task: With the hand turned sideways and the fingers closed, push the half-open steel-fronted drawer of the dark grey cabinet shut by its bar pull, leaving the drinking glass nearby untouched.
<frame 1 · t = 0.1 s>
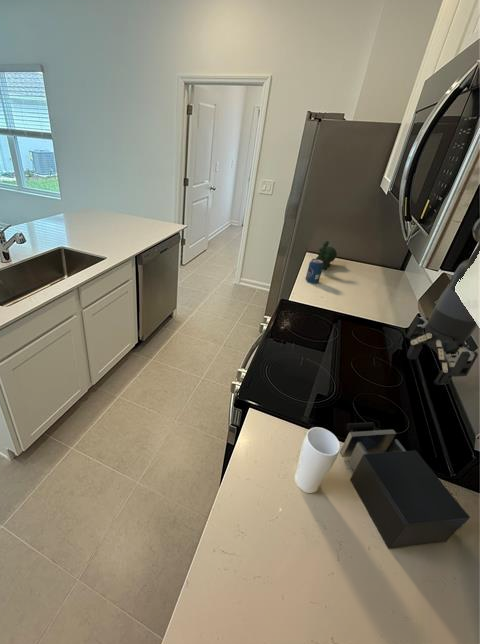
hand: (424, 370, 71), 23 cm above the worktop, tool pointing down, fingers open, 8 cm apart
cabinet: (394, 508, 66), on the worktop
soda can: (311, 281, 166), on the worktop
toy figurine: (322, 267, 185), on the worktop
drawer: (376, 457, 71), point 5 cm above the worktop, slide at 5.0 cm
drinking glass: (305, 482, 70), on the worktop
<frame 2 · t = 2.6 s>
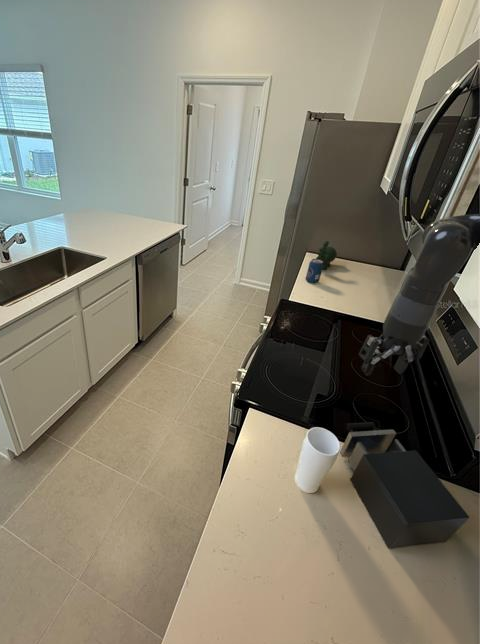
hand: (381, 372, 73), 21 cm above the worktop, tool pointing down, fingers open, 8 cm apart
nothing on the worktop moved.
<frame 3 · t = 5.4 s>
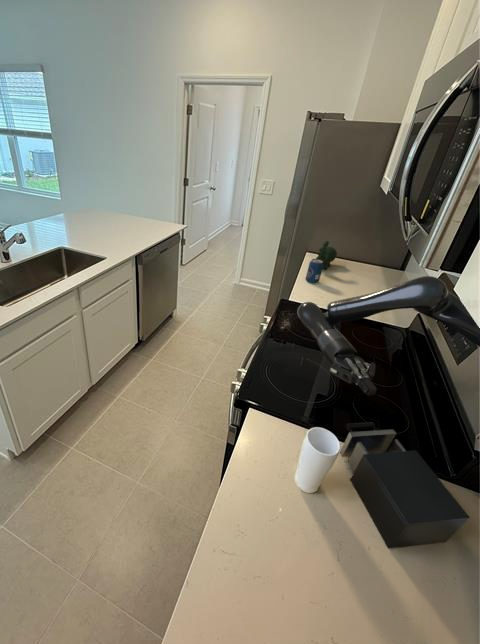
hand: (372, 393, 74), 16 cm above the worktop, tool horizontal, fingers closed
nothing on the worktop moved.
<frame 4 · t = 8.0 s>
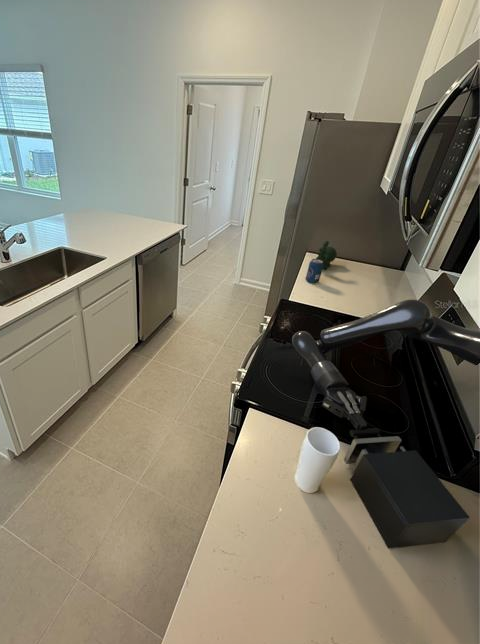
hand: (363, 428, 76), 7 cm above the worktop, tool horizontal, fingers closed
drawer: (381, 464, 70), point 5 cm above the worktop, slide at 3.1 cm, touching gripper
everything else where it was.
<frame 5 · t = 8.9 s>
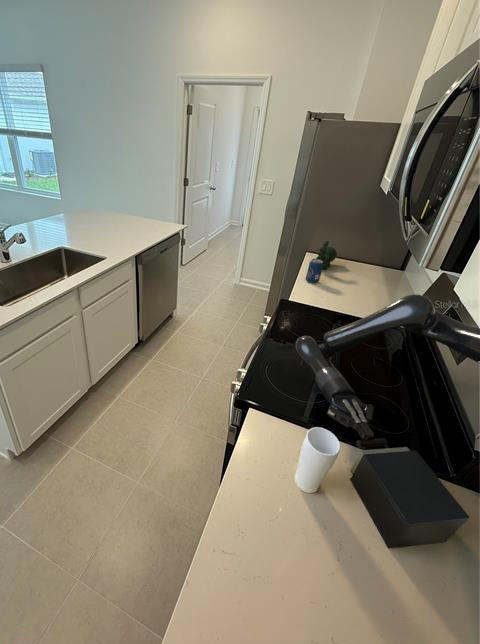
hand: (370, 438, 74), 7 cm above the worktop, tool horizontal, fingers closed
drawer: (390, 477, 67), point 5 cm above the worktop, slide at 0.3 cm, touching gripper
everything else where it was.
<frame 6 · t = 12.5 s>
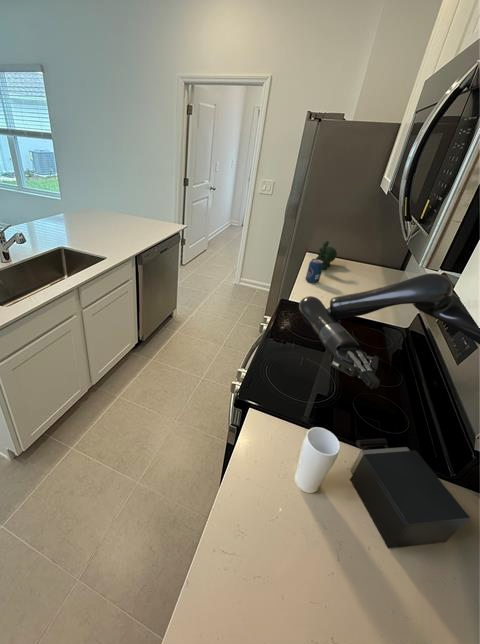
hand: (375, 385, 73), 18 cm above the worktop, tool horizontal, fingers closed
drawer: (390, 477, 67), point 5 cm above the worktop, slide at 0.3 cm
everything else where it was.
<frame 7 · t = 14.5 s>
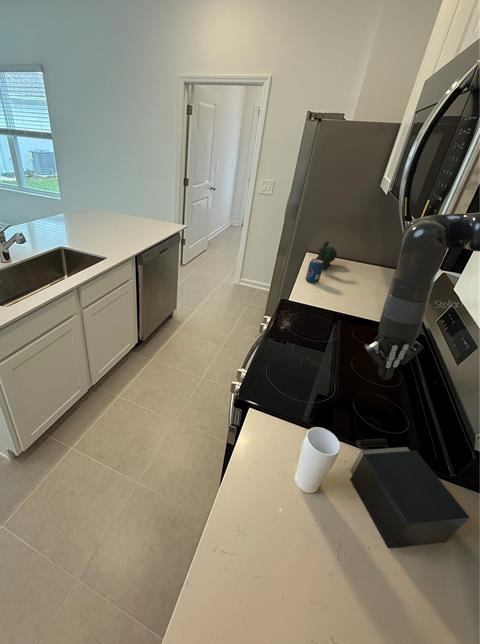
hand: (384, 377, 74), 20 cm above the worktop, tool pointing down, fingers closed
nothing on the worktop moved.
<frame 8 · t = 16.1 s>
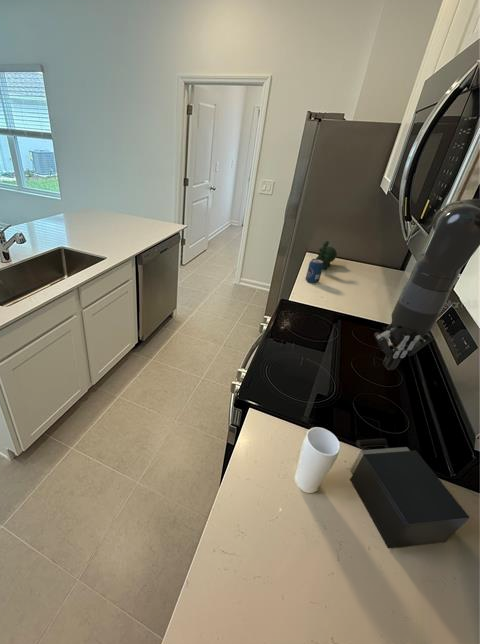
hand: (388, 367, 71), 23 cm above the worktop, tool pointing down, fingers closed
nothing on the worktop moved.
at the end: drawer slide at 0.3 cm; drinking glass moved 0.2 cm from its start; drinking glass tilted 0° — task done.
